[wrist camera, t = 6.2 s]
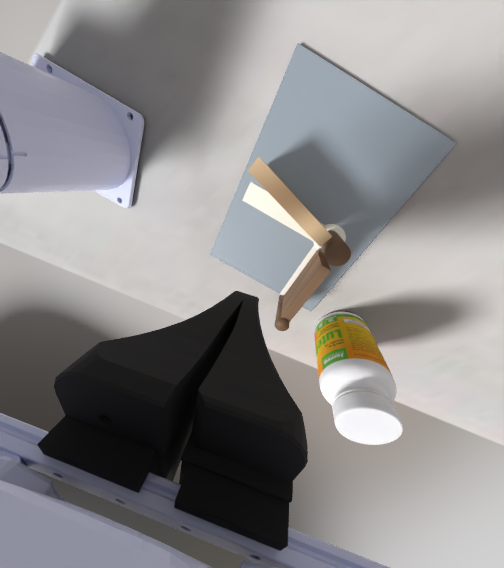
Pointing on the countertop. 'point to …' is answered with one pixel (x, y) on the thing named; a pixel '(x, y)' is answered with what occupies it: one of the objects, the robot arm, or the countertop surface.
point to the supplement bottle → (356, 380)
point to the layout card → (325, 173)
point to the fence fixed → (311, 278)
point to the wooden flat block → (289, 201)
